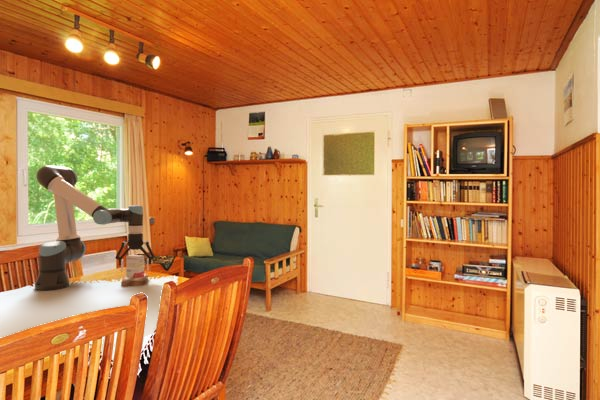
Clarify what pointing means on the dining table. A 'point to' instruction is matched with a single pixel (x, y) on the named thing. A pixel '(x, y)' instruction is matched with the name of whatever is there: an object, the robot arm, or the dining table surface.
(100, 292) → the dining table surface
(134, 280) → the plinth
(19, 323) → the dining table surface
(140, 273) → the ink box
